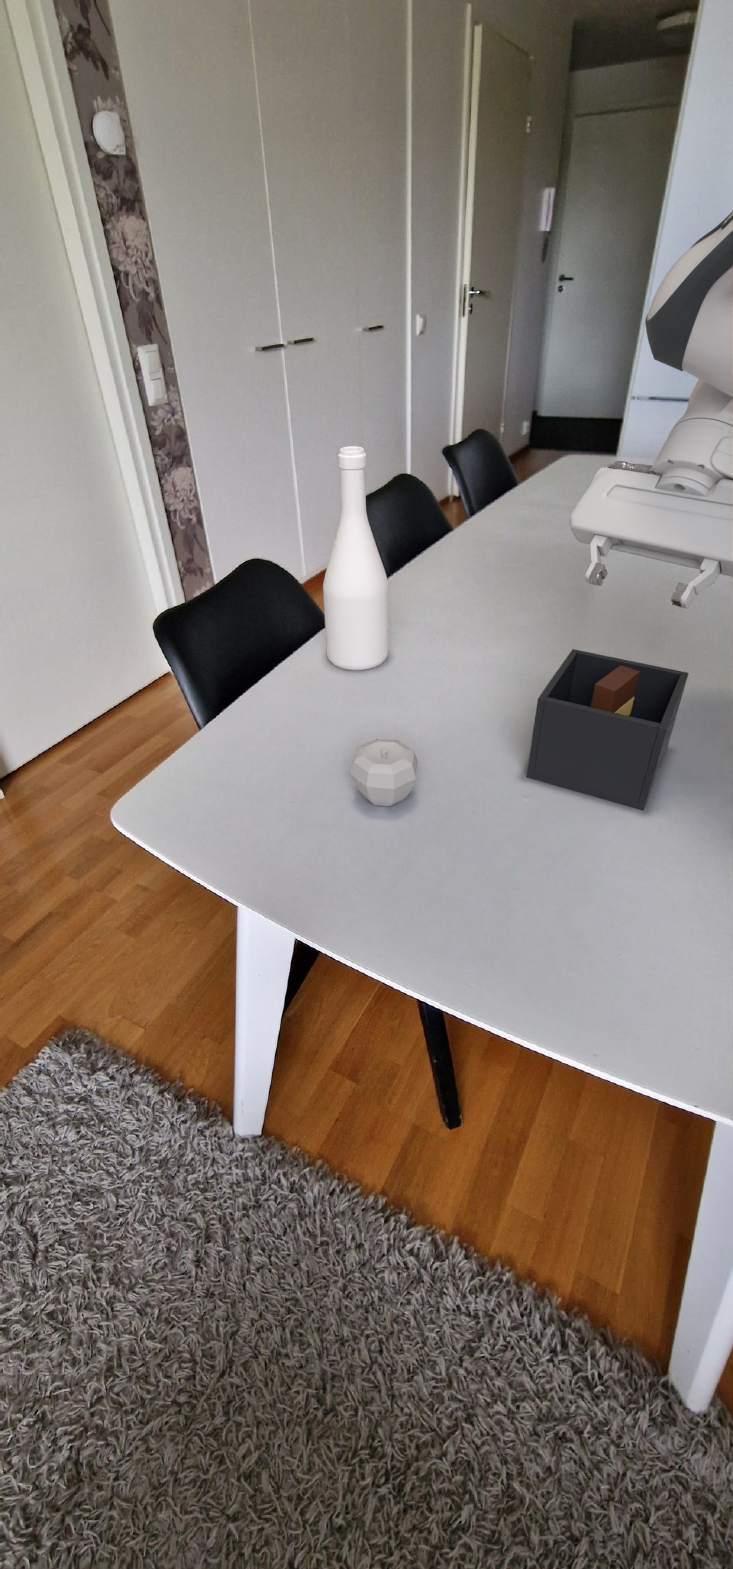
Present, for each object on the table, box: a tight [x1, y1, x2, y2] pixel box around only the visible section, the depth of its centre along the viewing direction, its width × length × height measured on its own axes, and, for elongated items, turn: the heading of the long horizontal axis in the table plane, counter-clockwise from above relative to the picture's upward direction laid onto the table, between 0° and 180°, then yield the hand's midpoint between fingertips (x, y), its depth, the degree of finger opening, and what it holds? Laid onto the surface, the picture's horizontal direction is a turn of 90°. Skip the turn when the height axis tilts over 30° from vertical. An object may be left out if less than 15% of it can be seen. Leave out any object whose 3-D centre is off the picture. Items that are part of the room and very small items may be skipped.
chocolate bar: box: [591, 665, 640, 716], centre depth 82 cm, size 2×6×11 cm, turn 137°
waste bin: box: [525, 648, 689, 811], centre depth 82 cm, size 14×14×11 cm
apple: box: [349, 738, 419, 807], centre depth 79 cm, size 8×8×7 cm
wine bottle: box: [322, 445, 389, 671], centre depth 100 cm, size 10×10×30 cm
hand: (633, 593), depth 72 cm, fingers open, 8 cm apart
